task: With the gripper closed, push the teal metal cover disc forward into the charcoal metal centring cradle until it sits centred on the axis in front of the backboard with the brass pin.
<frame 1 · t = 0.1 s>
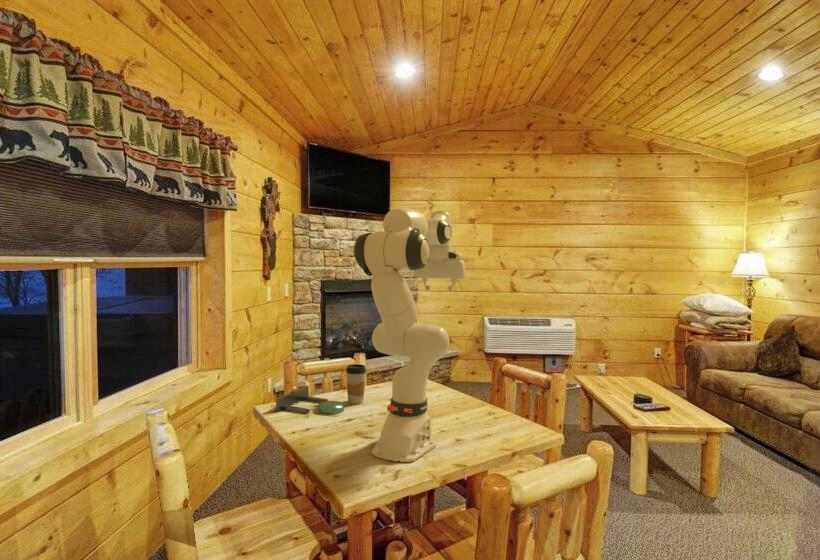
hand: (439, 290, 175), 48 cm above the table, fingers open, 8 cm apart
cover disc: (331, 410, 178), on the table
coffee cup: (355, 402, 188), on the table
cradle: (307, 406, 182), on the table
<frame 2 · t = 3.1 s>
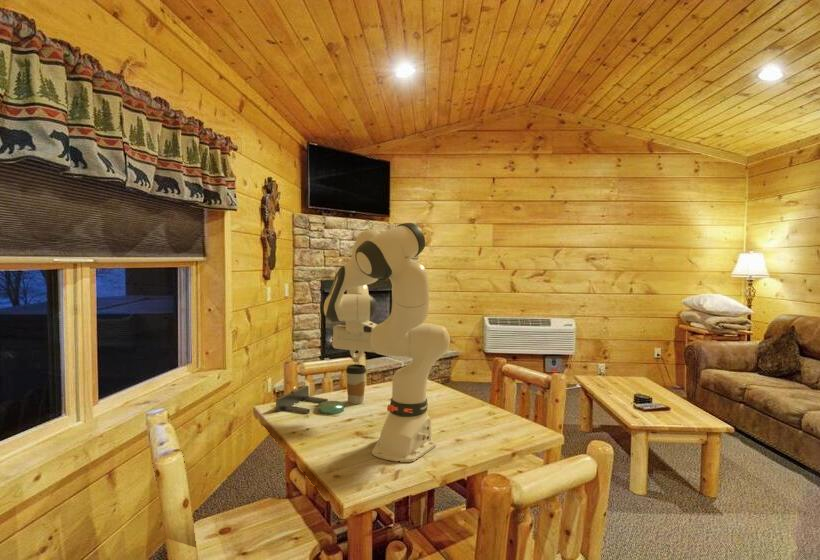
hand: (356, 361, 173), 20 cm above the table, fingers closed
nothing on the table moved.
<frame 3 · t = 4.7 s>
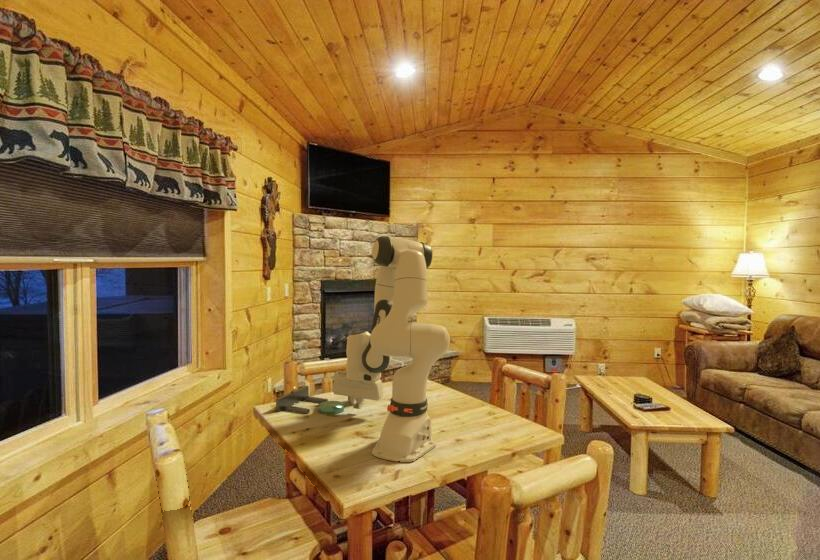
hand: (357, 408, 174), 2 cm above the table, fingers closed
nothing on the table moved.
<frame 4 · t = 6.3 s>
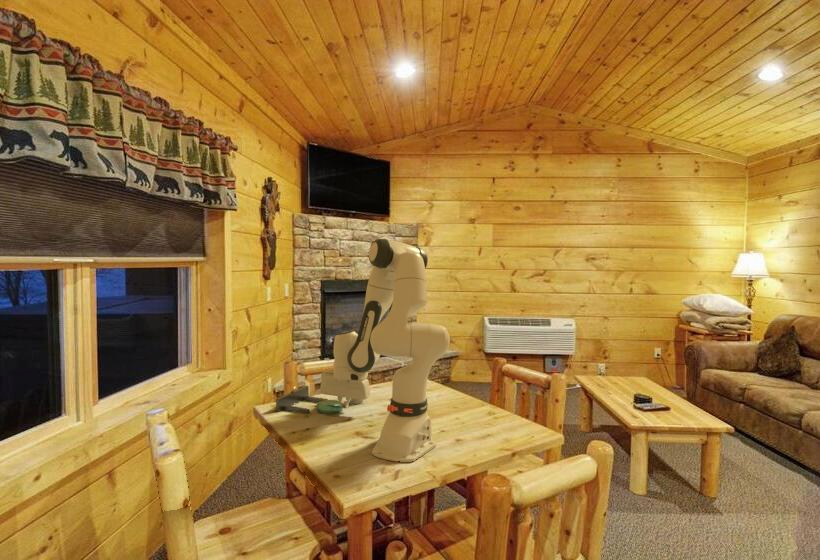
hand: (344, 407, 176), 2 cm above the table, fingers closed
cover disc: (329, 410, 178), on the table, touching gripper
everything else where it was.
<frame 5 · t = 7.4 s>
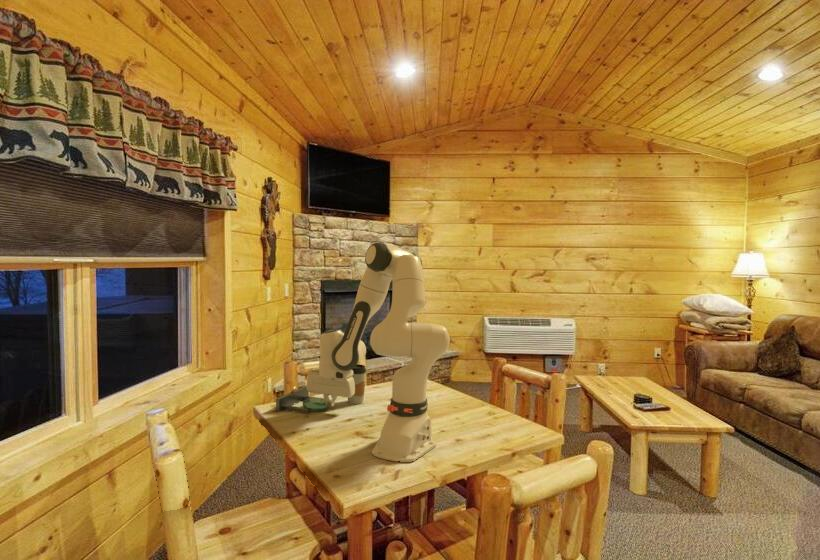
hand: (330, 405, 178), 2 cm above the table, fingers closed
cover disc: (315, 407, 180), on the table, touching gripper
everything else where it was.
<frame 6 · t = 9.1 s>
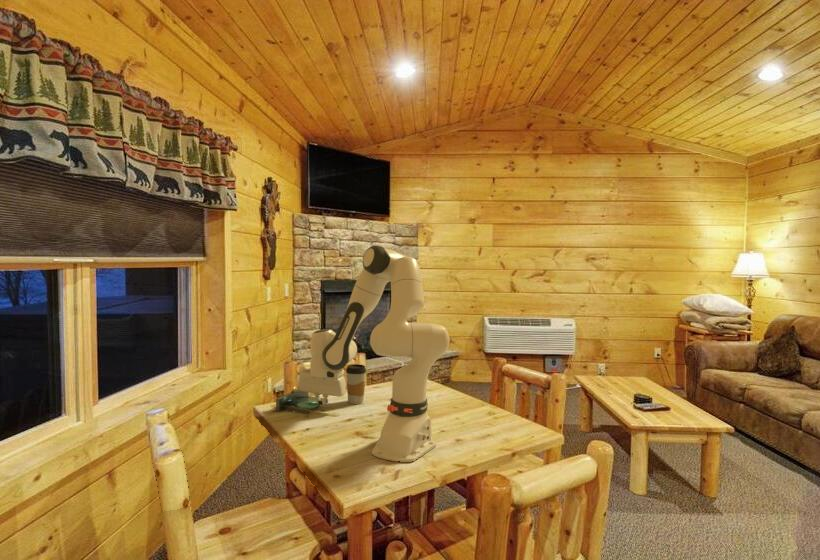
hand: (321, 404, 179), 2 cm above the table, fingers closed
cover disc: (307, 407, 181), on the table, touching gripper
everything else where it was.
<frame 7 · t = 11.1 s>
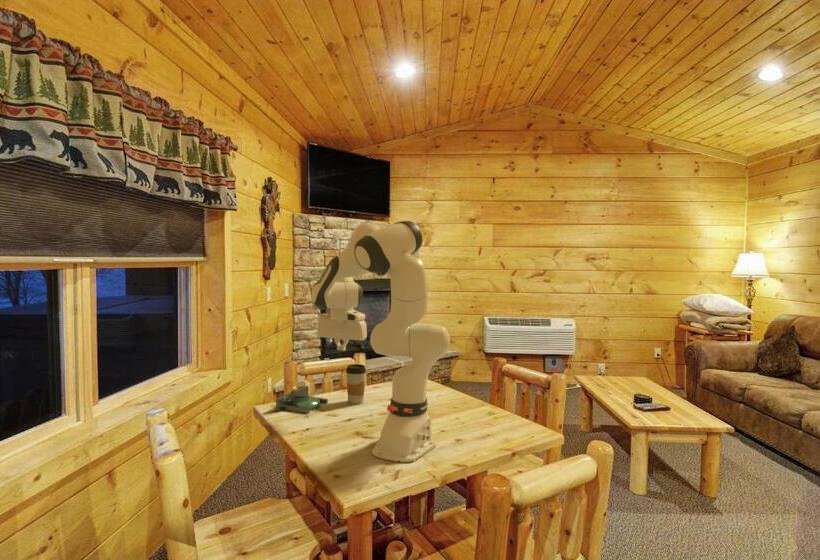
hand: (341, 350, 175), 24 cm above the table, fingers closed
cover disc: (307, 407, 181), on the table
everything else where it was.
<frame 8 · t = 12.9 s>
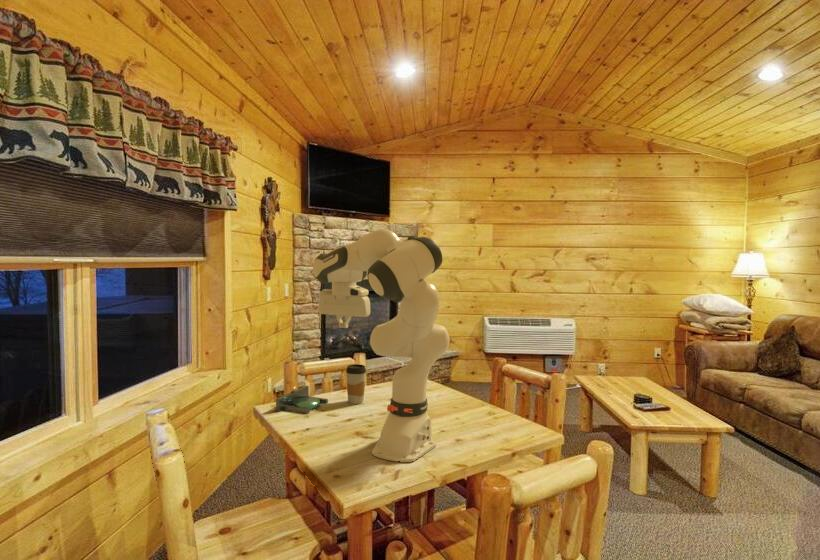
hand: (343, 327, 167), 34 cm above the table, fingers closed
nothing on the table moved.
at the end: cover disc 0.8 cm off-centre on the cradle, point 0.0 cm above the cradle's base; cover disc tilted 0°; cover disc moved 11.0 cm from its start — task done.
